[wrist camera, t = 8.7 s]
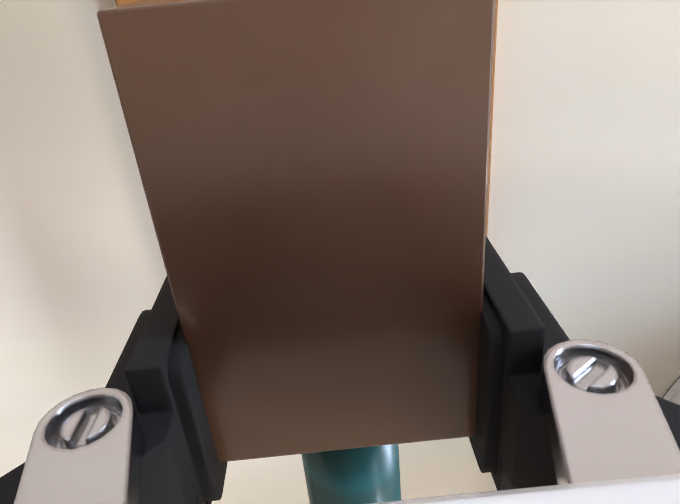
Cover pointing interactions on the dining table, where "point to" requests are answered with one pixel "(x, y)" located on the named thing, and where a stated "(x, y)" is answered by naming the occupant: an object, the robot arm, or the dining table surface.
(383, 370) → the brush
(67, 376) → the dining table surface
